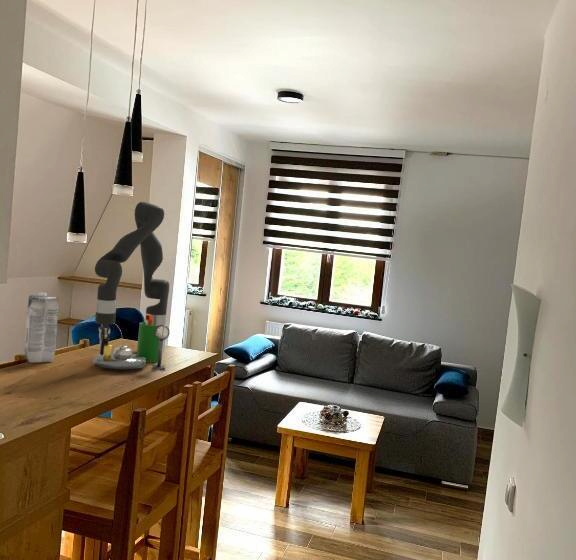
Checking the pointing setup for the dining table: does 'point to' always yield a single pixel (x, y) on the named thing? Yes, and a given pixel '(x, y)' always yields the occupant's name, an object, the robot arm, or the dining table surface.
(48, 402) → the dining table surface
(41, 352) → the juice carton
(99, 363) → the turntable
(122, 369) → the turntable base
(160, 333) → the metal disc on rod
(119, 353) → the cover
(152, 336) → the green bottle
